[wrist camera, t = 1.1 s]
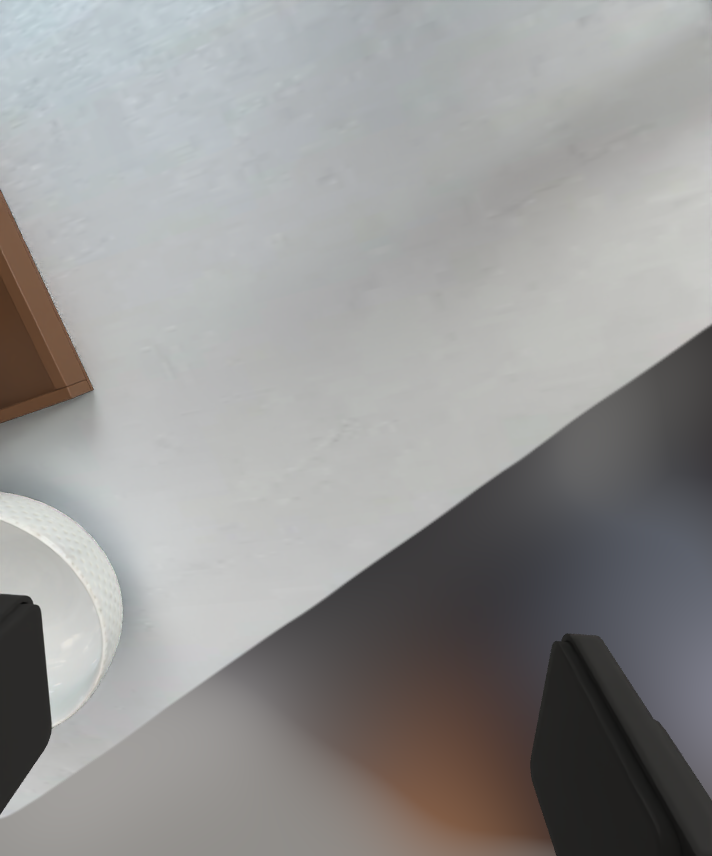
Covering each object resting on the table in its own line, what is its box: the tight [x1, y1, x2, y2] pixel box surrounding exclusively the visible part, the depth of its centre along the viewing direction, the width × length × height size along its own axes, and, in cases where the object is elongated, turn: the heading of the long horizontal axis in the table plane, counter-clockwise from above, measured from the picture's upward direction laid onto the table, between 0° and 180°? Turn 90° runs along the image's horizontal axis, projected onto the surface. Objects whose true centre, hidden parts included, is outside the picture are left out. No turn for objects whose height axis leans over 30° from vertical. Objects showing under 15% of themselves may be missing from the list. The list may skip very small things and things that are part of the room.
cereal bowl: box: [0, 492, 123, 728], centre depth 38 cm, size 17×17×7 cm
